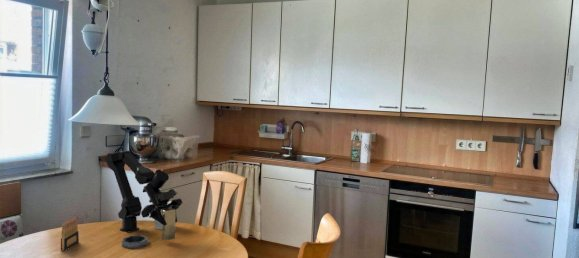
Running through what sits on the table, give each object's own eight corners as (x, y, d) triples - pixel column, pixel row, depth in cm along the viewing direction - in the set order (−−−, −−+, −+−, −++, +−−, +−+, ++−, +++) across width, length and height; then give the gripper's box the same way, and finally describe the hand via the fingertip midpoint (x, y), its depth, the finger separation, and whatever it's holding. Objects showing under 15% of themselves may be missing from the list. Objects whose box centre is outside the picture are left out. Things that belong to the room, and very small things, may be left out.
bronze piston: (159, 238, 188) (159, 210, 186) (168, 234, 192) (169, 207, 191) (168, 240, 185) (168, 212, 184) (177, 237, 190) (178, 209, 189)
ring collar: (116, 245, 184) (116, 240, 184) (136, 238, 194) (136, 233, 194) (133, 250, 179) (133, 245, 179) (153, 243, 188) (153, 238, 188)
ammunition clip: (64, 251, 176) (64, 222, 175) (60, 250, 176) (60, 222, 175) (78, 242, 187) (78, 215, 186) (74, 242, 187) (74, 215, 186)
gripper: (145, 187, 181) (161, 217, 176) (180, 180, 196) (196, 208, 191) (134, 202, 187) (149, 232, 181) (169, 194, 202) (184, 222, 196)
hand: (170, 223), depth 187 cm, fingers closed on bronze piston, 5 cm apart
